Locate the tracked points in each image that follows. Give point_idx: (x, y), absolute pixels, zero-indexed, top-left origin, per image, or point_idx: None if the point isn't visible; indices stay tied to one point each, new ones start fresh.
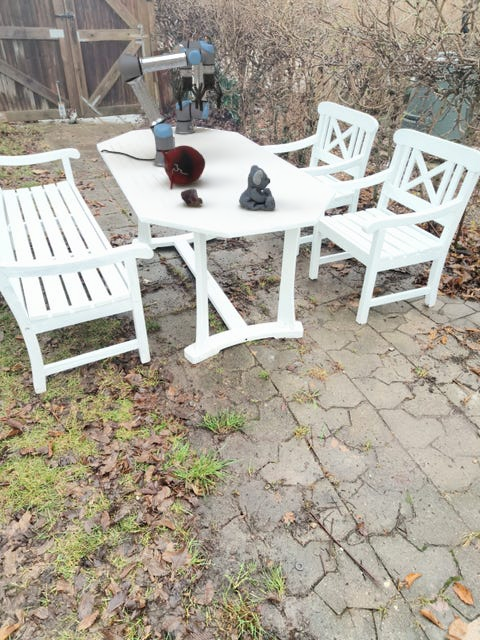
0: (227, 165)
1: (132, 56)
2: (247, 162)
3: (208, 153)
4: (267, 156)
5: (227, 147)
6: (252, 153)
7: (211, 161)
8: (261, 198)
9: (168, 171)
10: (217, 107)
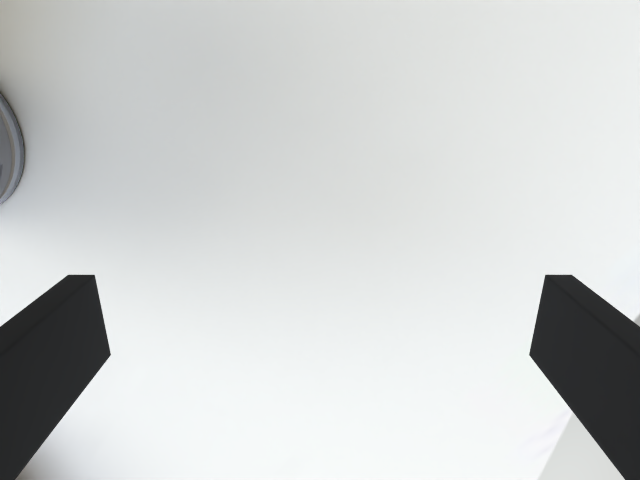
0: (268, 387)
1: None
2: (392, 405)
3: (332, 86)
4: None
5: (573, 19)
6: None
7: (235, 274)
8: None
9: None
10: (553, 300)
